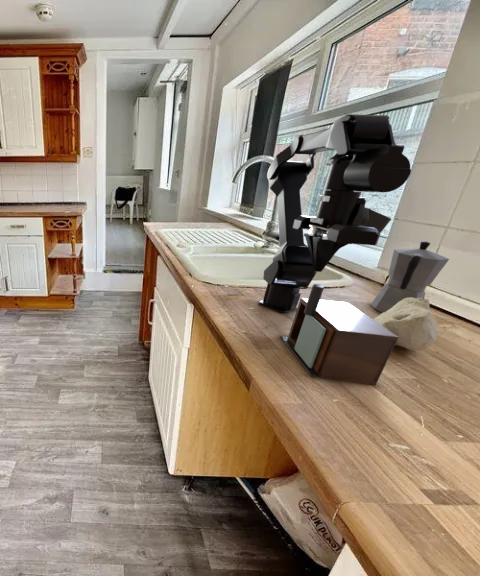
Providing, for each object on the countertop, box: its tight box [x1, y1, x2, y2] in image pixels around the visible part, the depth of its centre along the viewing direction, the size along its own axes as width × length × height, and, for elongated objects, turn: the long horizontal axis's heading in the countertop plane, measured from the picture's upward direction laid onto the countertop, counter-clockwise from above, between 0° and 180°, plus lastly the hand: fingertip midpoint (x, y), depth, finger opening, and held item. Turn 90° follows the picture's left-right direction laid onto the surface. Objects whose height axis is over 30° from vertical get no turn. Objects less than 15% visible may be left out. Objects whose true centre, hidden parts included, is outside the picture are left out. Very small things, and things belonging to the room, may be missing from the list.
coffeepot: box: [370, 240, 450, 314], centre depth 74 cm, size 15×9×18 cm, turn 129°
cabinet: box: [280, 297, 399, 386], centre depth 54 cm, size 13×10×9 cm
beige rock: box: [372, 297, 438, 353], centre depth 62 cm, size 15×7×15 cm
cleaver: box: [294, 283, 326, 369], centre depth 52 cm, size 6×2×13 cm, turn 171°
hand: (317, 271), depth 62 cm, fingers closed
